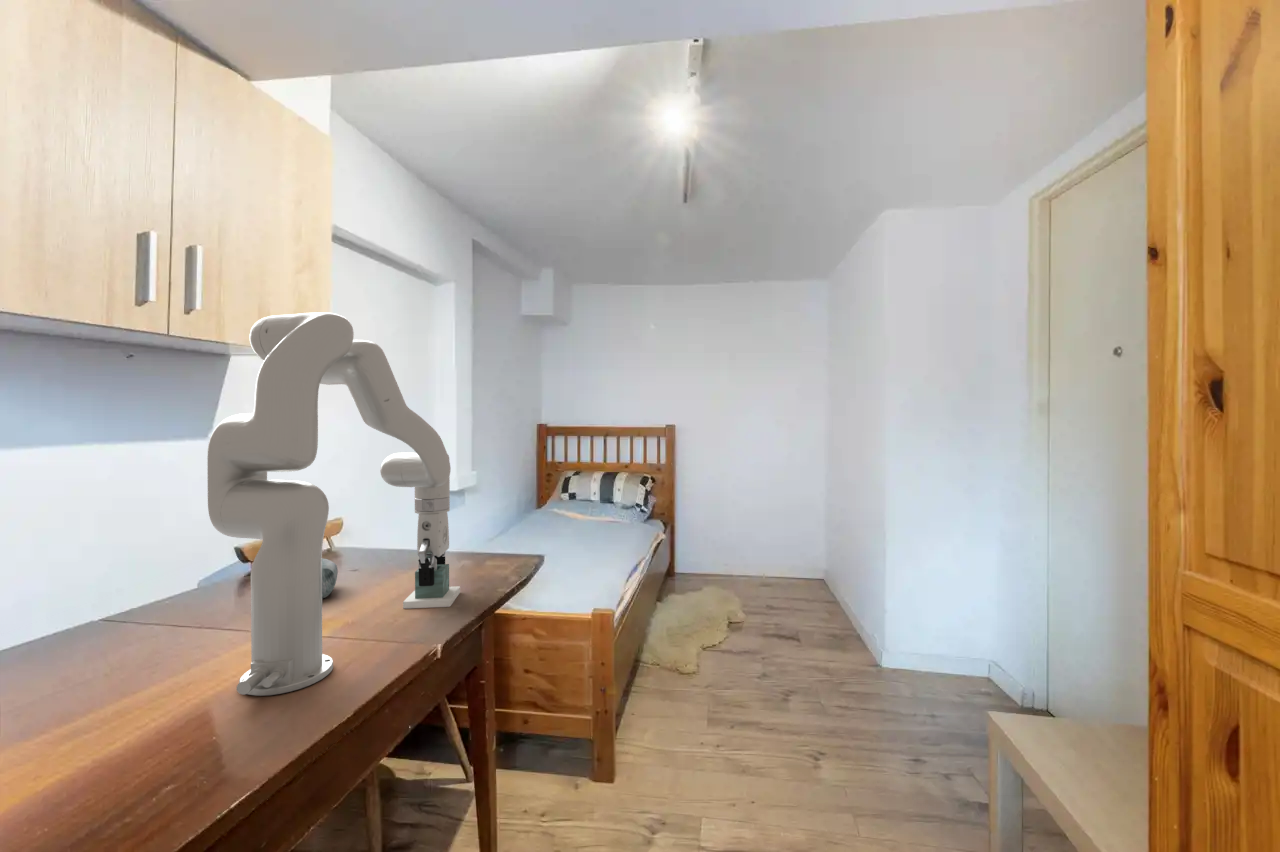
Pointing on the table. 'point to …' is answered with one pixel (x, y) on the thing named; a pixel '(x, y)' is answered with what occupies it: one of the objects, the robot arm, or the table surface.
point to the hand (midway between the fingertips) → (432, 579)
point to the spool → (328, 576)
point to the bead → (439, 583)
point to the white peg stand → (432, 602)
